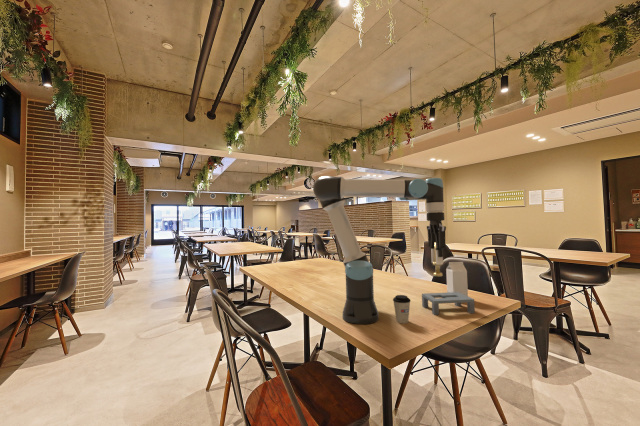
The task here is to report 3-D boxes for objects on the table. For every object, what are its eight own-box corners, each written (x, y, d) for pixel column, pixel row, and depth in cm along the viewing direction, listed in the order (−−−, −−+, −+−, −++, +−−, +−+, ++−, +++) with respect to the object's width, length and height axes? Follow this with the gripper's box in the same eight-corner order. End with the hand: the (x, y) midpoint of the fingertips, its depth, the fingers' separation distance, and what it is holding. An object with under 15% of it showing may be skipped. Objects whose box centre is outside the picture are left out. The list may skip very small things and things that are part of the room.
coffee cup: (390, 319, 112) (389, 295, 113) (403, 317, 115) (402, 293, 115) (401, 325, 106) (400, 299, 106) (415, 322, 109) (414, 297, 109)
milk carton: (468, 301, 134) (466, 262, 135) (453, 301, 134) (452, 263, 135) (461, 297, 141) (459, 260, 142) (447, 297, 141) (445, 261, 142)
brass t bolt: (435, 276, 121) (434, 243, 122) (431, 275, 125) (430, 242, 125) (444, 276, 121) (442, 242, 122) (439, 274, 125) (438, 242, 126)
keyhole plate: (434, 315, 116) (434, 301, 117) (422, 306, 128) (421, 293, 129) (474, 313, 118) (474, 299, 118) (458, 304, 129) (458, 292, 130)
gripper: (453, 211, 116) (455, 266, 115) (434, 212, 133) (436, 260, 132) (436, 211, 115) (438, 266, 115) (419, 212, 132) (421, 261, 131)
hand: (437, 263), depth 123 cm, fingers closed on brass t bolt, 4 cm apart
